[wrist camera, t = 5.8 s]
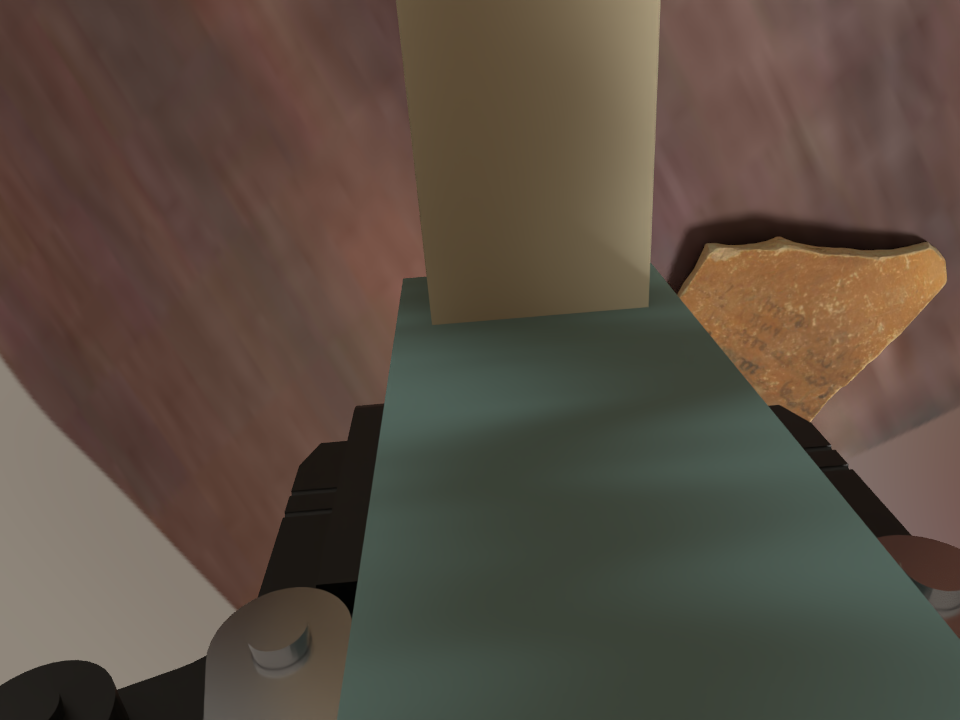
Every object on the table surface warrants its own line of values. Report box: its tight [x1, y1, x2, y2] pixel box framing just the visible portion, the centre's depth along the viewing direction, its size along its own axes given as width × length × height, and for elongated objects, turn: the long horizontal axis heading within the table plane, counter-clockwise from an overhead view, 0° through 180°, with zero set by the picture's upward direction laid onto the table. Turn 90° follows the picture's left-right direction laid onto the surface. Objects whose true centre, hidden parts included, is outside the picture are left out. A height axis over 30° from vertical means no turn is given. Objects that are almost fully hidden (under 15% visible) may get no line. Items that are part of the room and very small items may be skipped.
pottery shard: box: [677, 237, 947, 422], centre depth 30 cm, size 10×9×2 cm
